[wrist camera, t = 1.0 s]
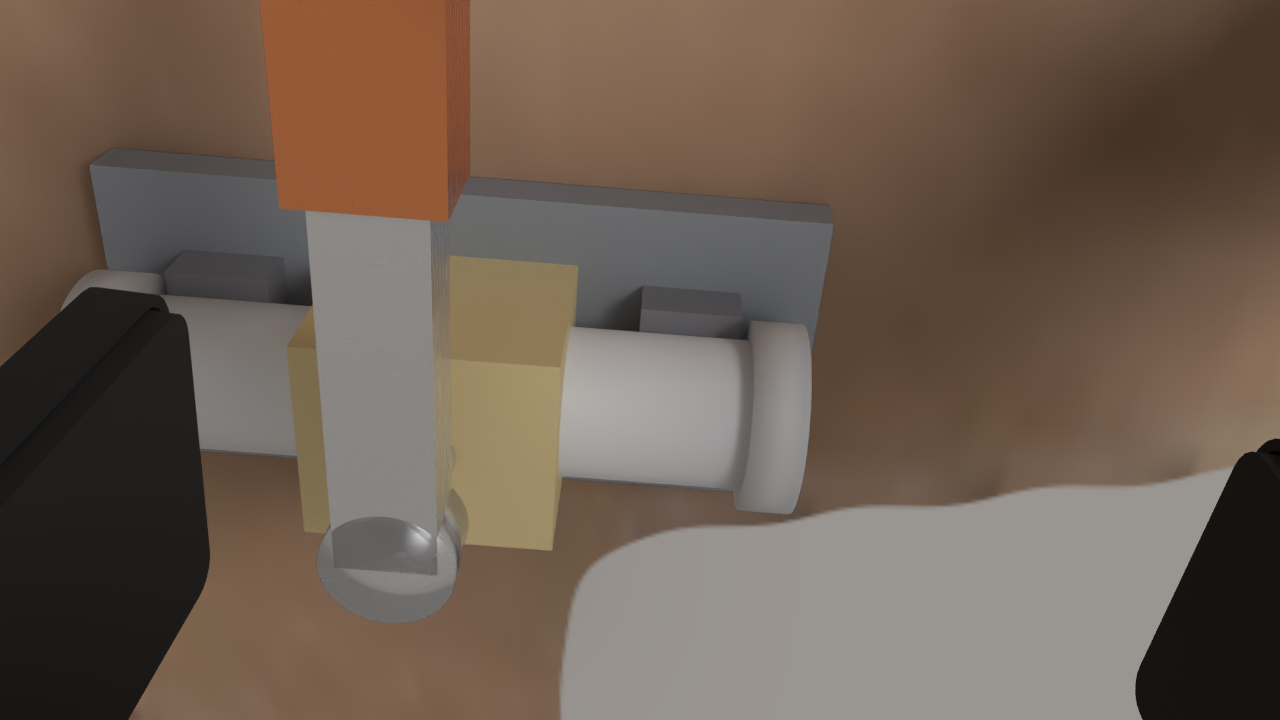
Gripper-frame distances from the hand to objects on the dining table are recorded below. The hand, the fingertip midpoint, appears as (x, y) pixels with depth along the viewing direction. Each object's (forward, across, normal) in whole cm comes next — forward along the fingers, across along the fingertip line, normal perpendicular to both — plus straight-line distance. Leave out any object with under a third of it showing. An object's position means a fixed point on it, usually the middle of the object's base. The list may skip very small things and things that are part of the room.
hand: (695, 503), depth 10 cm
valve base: (+24, +6, +12) cm, 27 cm away
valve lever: (+14, +6, +5) cm, 16 cm away
